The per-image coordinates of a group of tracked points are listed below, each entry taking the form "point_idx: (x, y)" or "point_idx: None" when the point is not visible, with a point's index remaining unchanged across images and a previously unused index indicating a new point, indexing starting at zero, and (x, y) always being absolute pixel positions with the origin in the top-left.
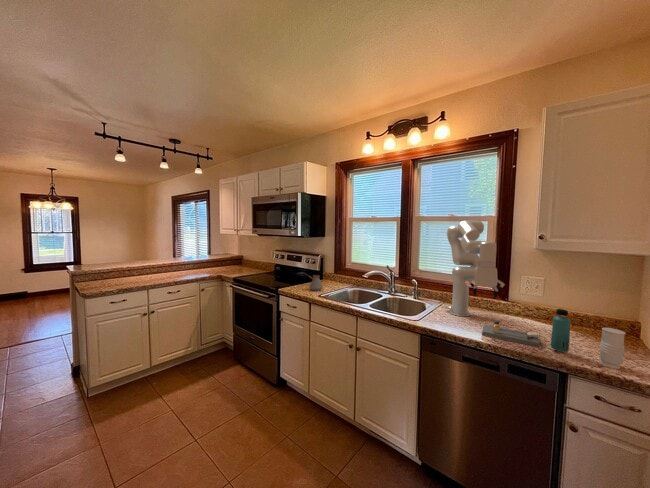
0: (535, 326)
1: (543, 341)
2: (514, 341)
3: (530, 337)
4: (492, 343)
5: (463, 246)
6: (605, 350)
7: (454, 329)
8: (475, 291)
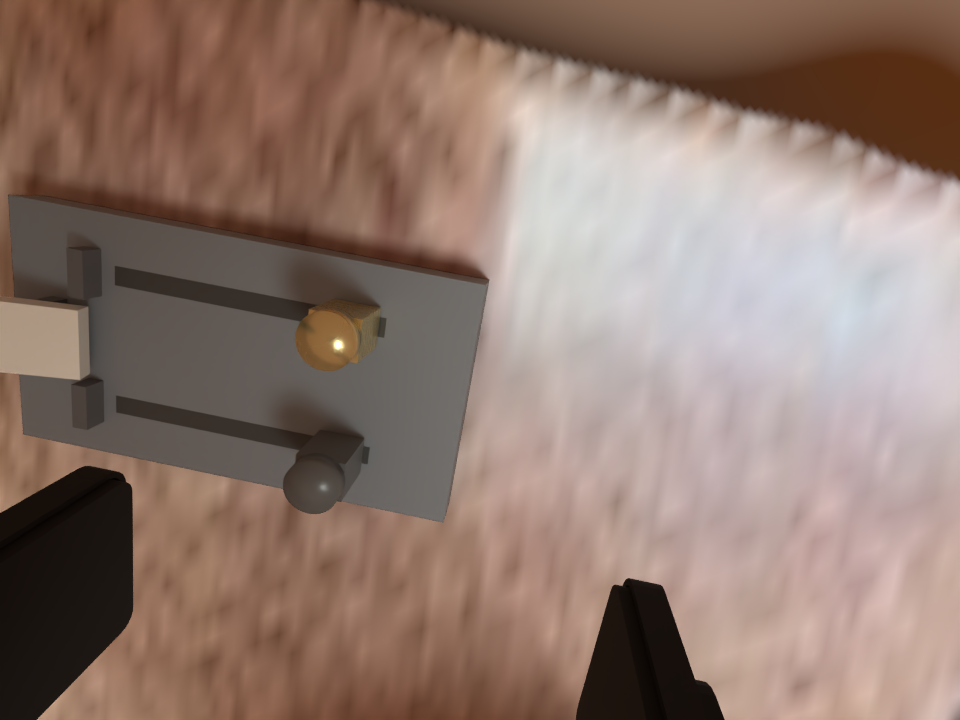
0: None
1: None
2: (221, 229)
3: None
4: (419, 74)
5: None
6: None
7: (754, 323)
8: (683, 716)
